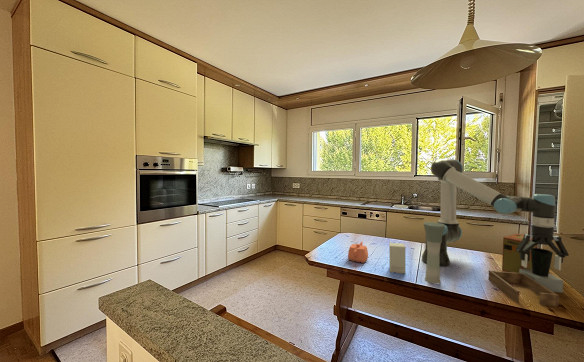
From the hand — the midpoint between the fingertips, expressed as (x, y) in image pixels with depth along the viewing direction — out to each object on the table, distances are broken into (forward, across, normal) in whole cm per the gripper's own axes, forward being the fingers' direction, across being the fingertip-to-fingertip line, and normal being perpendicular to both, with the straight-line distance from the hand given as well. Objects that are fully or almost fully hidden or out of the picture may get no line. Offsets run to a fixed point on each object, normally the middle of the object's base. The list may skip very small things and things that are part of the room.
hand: (540, 267), depth 119 cm
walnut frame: (+9, -14, -9) cm, 19 cm away
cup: (+3, 0, 0) cm, 3 cm away
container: (+9, -50, -6) cm, 51 cm away
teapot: (+10, -87, +15) cm, 89 cm away
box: (+10, +1, +17) cm, 20 cm away
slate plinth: (+9, 0, 0) cm, 9 cm away
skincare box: (+10, -66, +2) cm, 67 cm away
